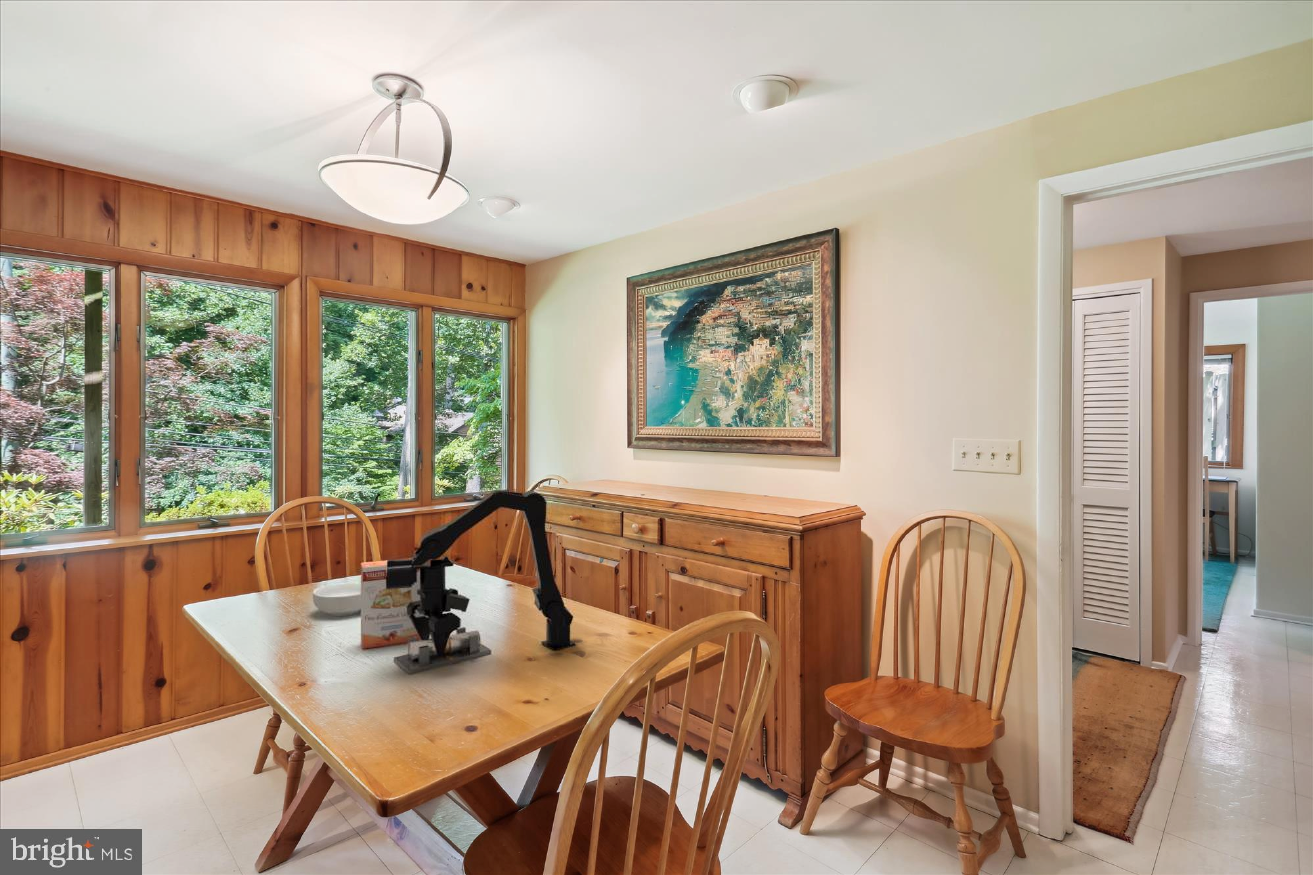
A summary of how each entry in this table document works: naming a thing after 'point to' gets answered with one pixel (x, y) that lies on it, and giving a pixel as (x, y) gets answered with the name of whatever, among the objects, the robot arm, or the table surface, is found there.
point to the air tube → (453, 645)
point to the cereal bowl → (338, 598)
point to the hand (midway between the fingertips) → (433, 650)
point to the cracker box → (385, 608)
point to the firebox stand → (446, 659)
